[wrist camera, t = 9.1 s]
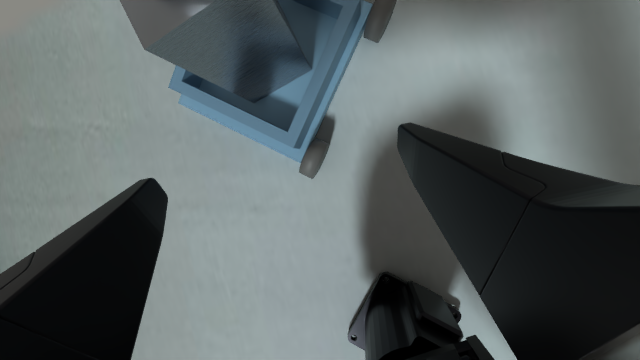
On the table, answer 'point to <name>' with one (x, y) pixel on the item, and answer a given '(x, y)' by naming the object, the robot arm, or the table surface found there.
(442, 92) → the table surface
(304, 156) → the chassis
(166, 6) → the square bottle with cap
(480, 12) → the table surface
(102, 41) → the table surface
